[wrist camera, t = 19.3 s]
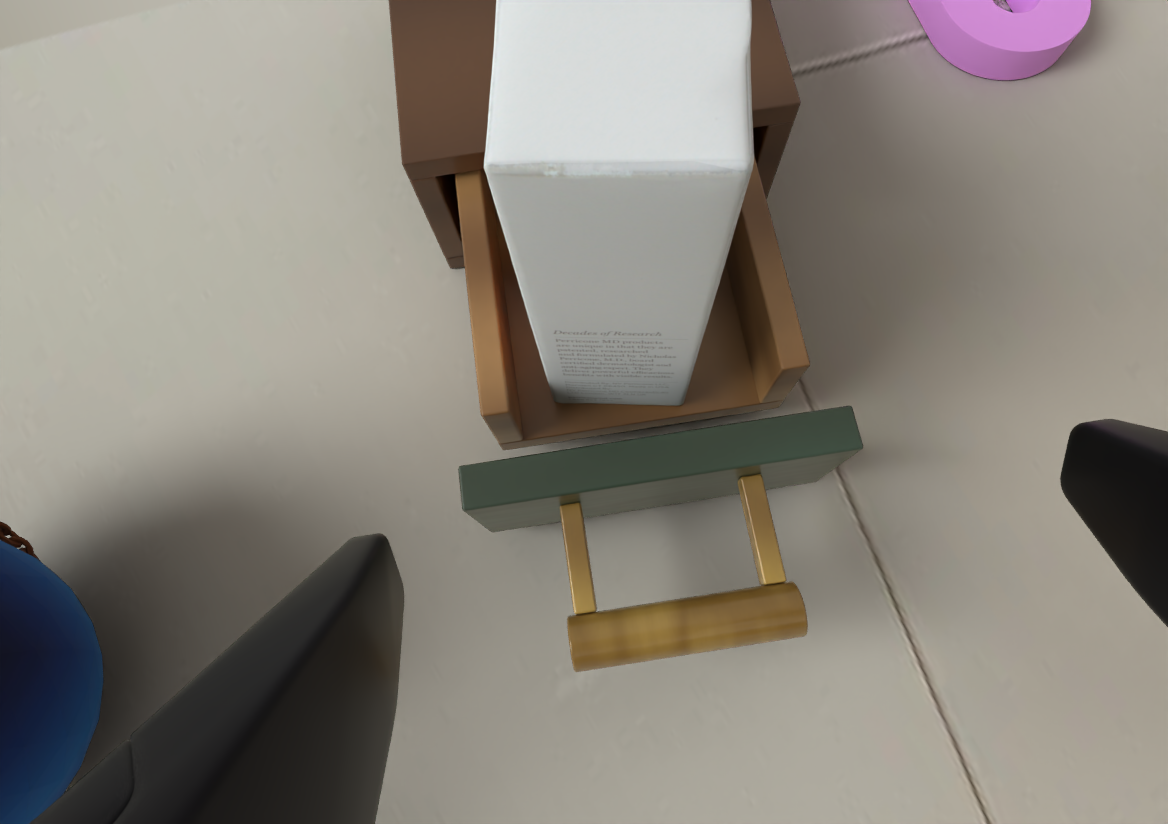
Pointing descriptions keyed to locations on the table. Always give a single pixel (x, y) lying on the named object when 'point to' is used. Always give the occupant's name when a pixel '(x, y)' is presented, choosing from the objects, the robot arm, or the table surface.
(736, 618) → the drawer
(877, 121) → the table surface
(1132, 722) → the table surface
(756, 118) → the cabinet
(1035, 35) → the bracket
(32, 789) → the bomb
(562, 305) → the cosmetic box
